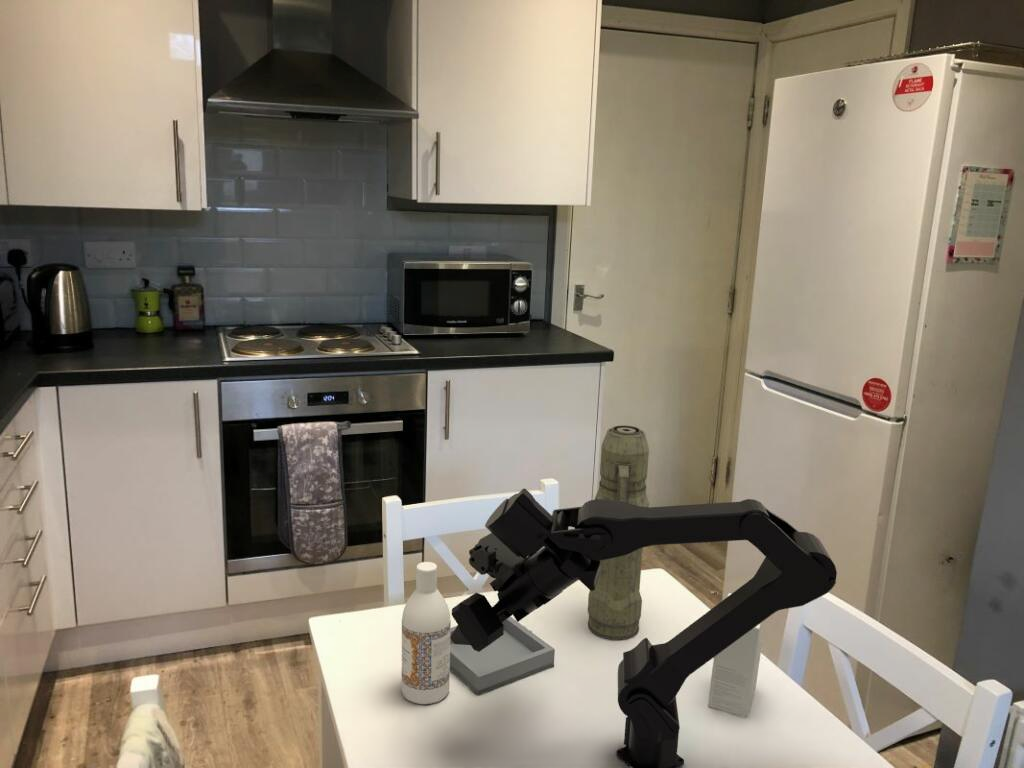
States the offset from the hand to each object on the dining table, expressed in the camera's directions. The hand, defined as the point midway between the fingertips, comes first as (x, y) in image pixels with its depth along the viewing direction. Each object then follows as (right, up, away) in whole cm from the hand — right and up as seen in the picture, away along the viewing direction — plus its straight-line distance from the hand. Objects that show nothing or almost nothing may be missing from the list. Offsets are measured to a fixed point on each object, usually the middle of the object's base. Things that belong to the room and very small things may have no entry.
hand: (473, 626), depth 115 cm
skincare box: (+38, -13, +9) cm, 41 cm away
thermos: (+23, -8, +28) cm, 37 cm away
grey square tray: (+2, -10, +17) cm, 20 cm away
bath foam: (-7, -12, +8) cm, 16 cm away
